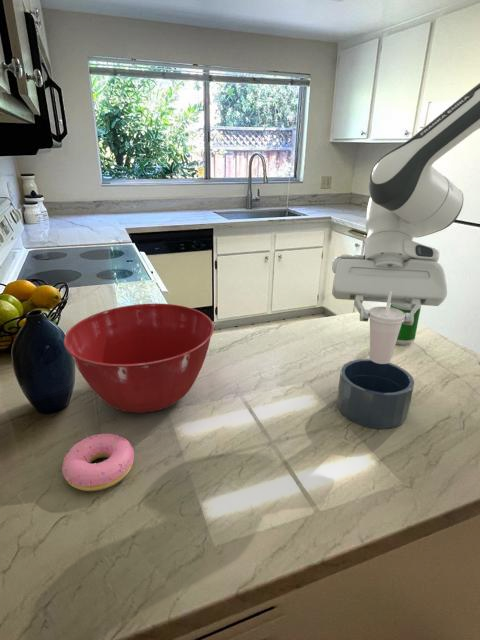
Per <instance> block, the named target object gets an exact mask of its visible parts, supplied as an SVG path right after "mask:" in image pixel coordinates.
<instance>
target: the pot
mask: <svg viewBox="0 0 480 640" xmlns="http://www.w3.org/2000/svg"><path fill="white" fill-rule="evenodd" d="M414 387H415V380H414V377H413V376H412V375H411V373H409V372H408V371H407V370H405V368H402V367H401V366H399V365H396V364H394V363H391V362H389V363H387V364H378V363H375V362H373V361H371V360H370V358H359V359H353V360H350V361H348V362H346V363H344V364H343V365H342V366H341V368H340V372H339V382H338V387H337V388H338V389H337V396H336V397H337V399H336V405H337V409H338V411H339V412H340V413H341V414H342V416H344V417H345V419H348V420H349V421H351V422H353V423H354V424H357V425H359V426H363V427H365V428H370V429H377V430H389V429H394V428H397V427H400V426H401V425H404V423H405V422H406V421H407V420H408V416H409V412H410V407H411V403H412V402H411V401H412V395H413V393H414V392H413V391H414Z"/></svg>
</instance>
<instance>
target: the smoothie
mask: <svg viewBox="0 0 480 640" xmlns="http://www.w3.org/2000/svg"><path fill="white" fill-rule="evenodd" d="M391 295H392V290H389V293H388V299H387V303H386V306H374V307H371V308H370V309H368V310H369V359H370V360H371V361H373V362H375V363H378V364H387V363H391V359H392V356H393V354H394V350H395V347H396V345H397V344H396V341H397V337H398V334H399V331H400V328H401V325H402V322H404V321H405V313H404V312H402V311H401V310H398V309H395V308H391V307H390V304H391V303H390V301H391Z"/></svg>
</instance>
